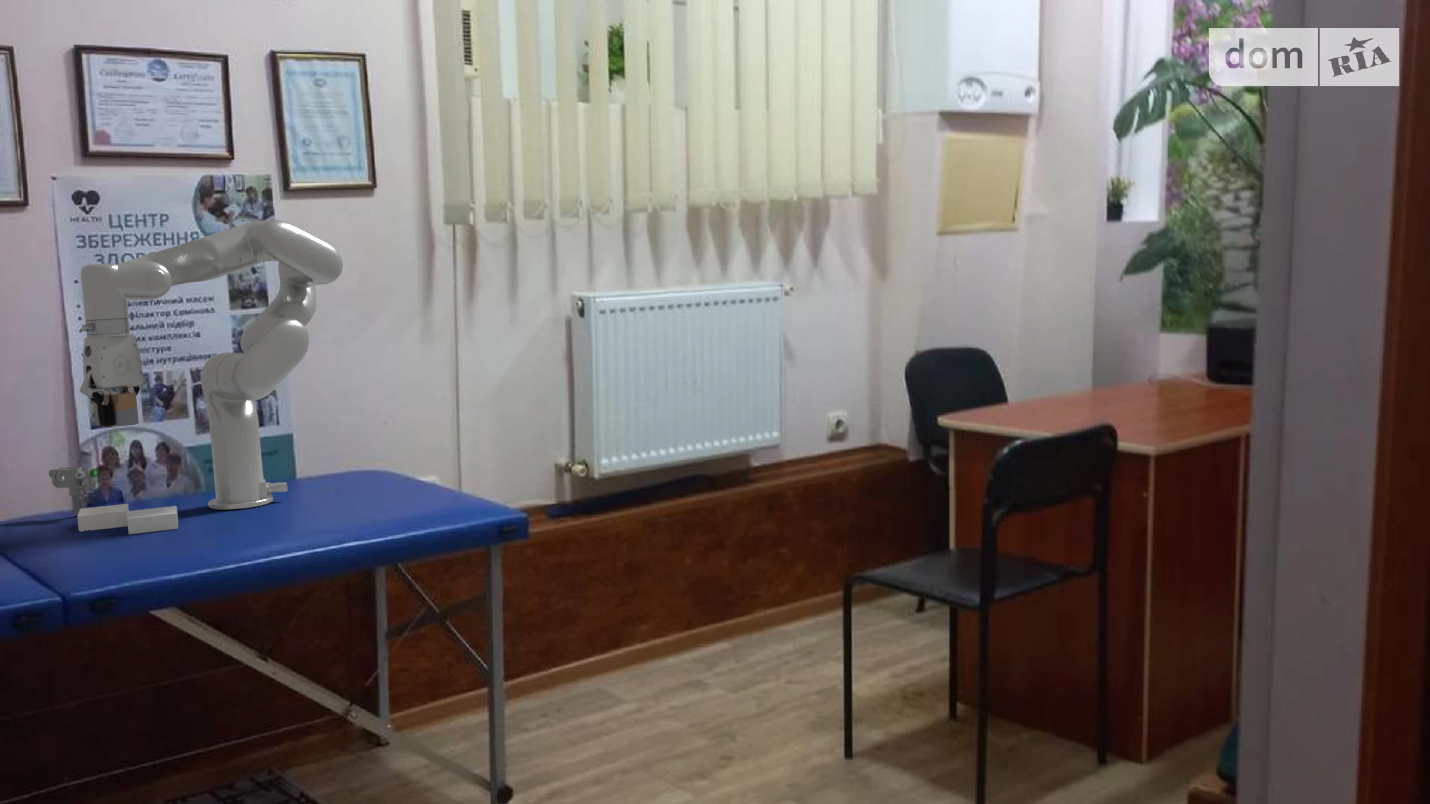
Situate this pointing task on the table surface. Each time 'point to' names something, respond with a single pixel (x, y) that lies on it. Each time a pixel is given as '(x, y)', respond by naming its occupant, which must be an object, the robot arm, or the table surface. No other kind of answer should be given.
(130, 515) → the stand
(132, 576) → the table surface
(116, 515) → the stand
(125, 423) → the housing
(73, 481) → the mechanical component
